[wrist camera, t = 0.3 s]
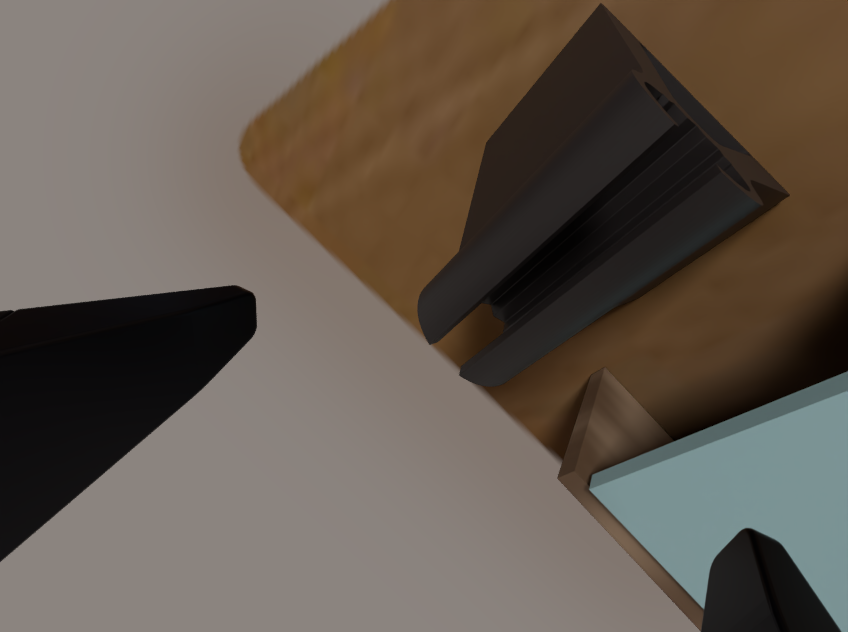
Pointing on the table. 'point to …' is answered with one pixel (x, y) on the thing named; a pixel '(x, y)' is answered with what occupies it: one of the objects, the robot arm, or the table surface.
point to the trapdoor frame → (611, 445)
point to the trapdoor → (747, 492)
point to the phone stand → (590, 200)
